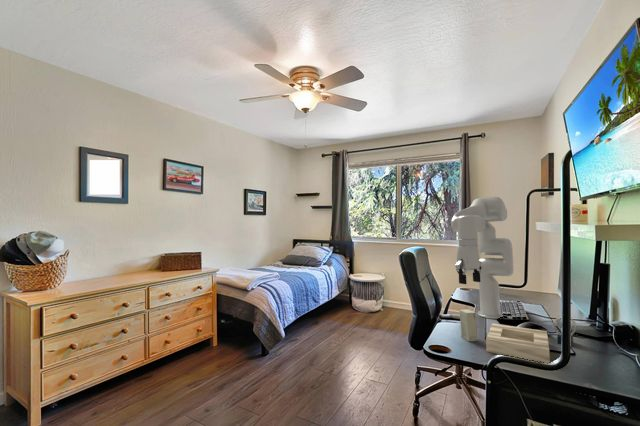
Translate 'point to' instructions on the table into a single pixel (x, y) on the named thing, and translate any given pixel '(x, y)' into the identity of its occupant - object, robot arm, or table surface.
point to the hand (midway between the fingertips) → (469, 282)
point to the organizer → (518, 342)
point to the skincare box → (468, 325)
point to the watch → (560, 333)
